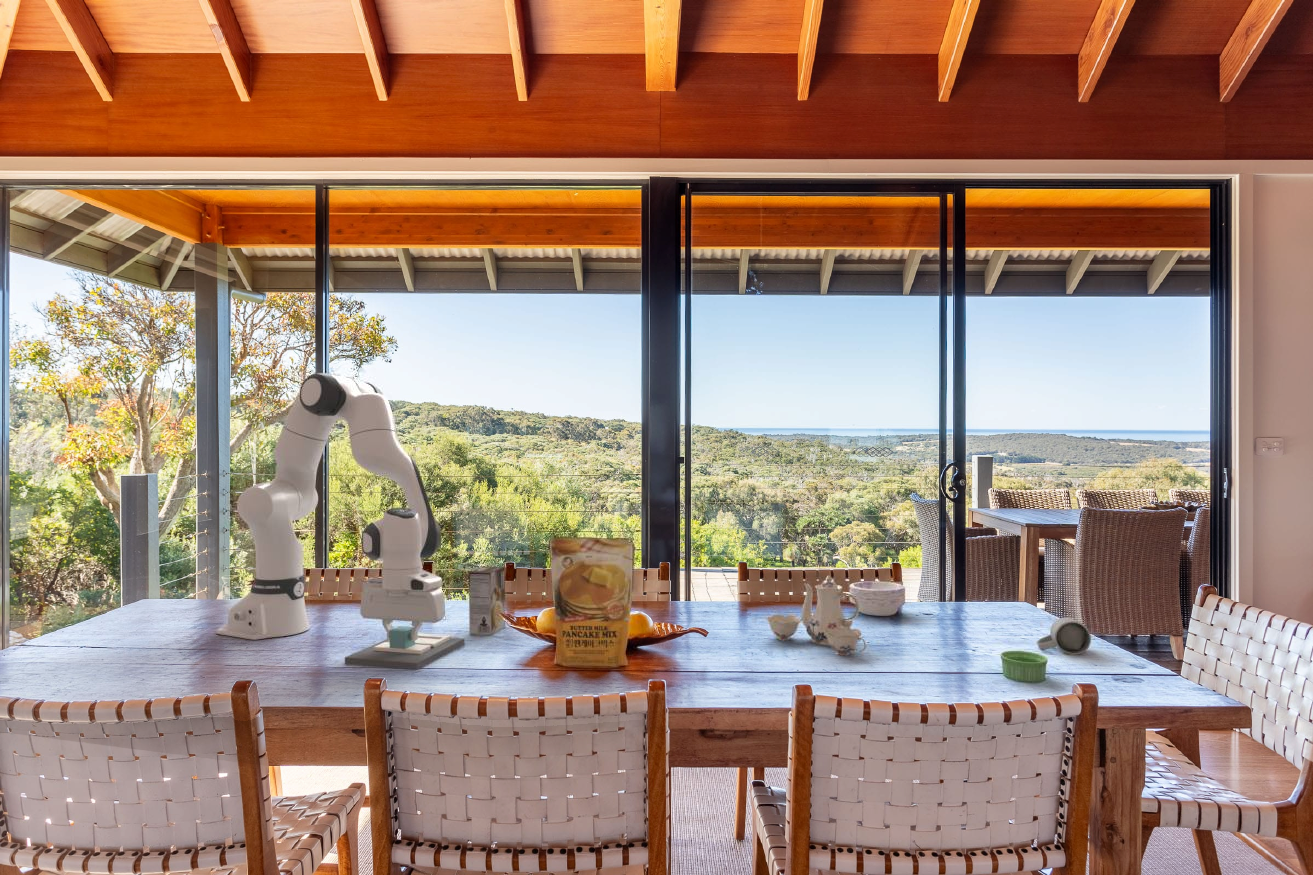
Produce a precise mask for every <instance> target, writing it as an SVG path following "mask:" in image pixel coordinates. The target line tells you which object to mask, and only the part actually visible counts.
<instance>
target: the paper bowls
mask: <svg viewBox="0 0 1313 875" xmlns="http://www.w3.org/2000/svg"><path fill="white" fill-rule="evenodd" d="M905 588H906V587H905V585H903V584H901V583H895V582H889V581H858V582H852V583H850V584H849V593H850V594H852V595H854V596H855V597H856V599H857V600H858V602H859V612H860V613H861V614H863V615H868V616H875V617H889V616H893V615H895V614H896V613H897V612H898V609H899V607H901V606H902V607H903V606H904V605H905V604H906V589H905ZM849 602H850V603H851V604H854V605H856V603H855V601H854V599H853V598H852V597H850V596H849Z"/></svg>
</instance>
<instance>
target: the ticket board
mask: <svg viewBox="0 0 1313 875" xmlns="http://www.w3.org/2000/svg"><path fill="white" fill-rule="evenodd" d="M384 642H390V639H387V638H386V639H384V640H382V641H379V642H377V643H375V644H372V645H370V646H368V647H366V648H363V649H361V650H359V651H355V652H354V653H352V654H350V655H346V656H345V657H344V664H345V665H351V666H352V665H354V666H361V667H362V666H363V667H364V666H365V667H375V668H376V667H377V668H387V669H388V668H389V669H398V668H400V669H401V670H412V671H418V670H420V669H422V668H424V667H425V666H427V665H429V664H431V663H433V662H435V661H437V660H439V659H441V658H443V657H444V656H446V655H448V654H450V653H452V652H454V651H455V650H457V649H460V648H461V647H464V646H466V645H465V642H466V641H465V638H461V637H459V638H458V637H452V635H449V634H447V635H446V634H435V633H434V634H433V633H421V632H418V639H417V640H415V644H418V645H431V649H430V650H428V651H426V652H424V653H422V654H413V653H400V652H388V651H375V650H374V647H375V646H377V645H379V644H382V643H384ZM453 650H454V651H453Z"/></svg>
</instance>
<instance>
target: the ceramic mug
mask: <svg viewBox="0 0 1313 875" xmlns="http://www.w3.org/2000/svg"><path fill="white" fill-rule="evenodd" d="M1049 630H1050V632H1049V633H1050V634H1049V635H1046V636H1043V637H1041V638H1040V639H1038V640H1037V642H1036V644H1037V646H1038V648H1039V650H1050V649H1053V648H1056V647H1057V648H1058V649H1059V650H1060V651H1061V652H1062V653H1065V654H1067V655H1070V656H1077V655H1081V654H1083V653H1085V652H1086V651H1087V650H1088V649H1089V648H1090V645H1091V642H1092V636H1091V633H1090V630H1089V629H1088V627H1087V626H1086V625H1085V624H1083V623H1082V622H1079V621H1078V620H1076V619H1074V618H1071V617H1060V618H1058V619H1055V620H1054V622H1052V624H1051V626H1050V629H1049Z"/></svg>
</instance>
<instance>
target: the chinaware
mask: <svg viewBox="0 0 1313 875" xmlns="http://www.w3.org/2000/svg"><path fill="white" fill-rule="evenodd" d="M832 579H833V578H832V577H831V575H827V576H826V578H825V580H823V581H822V582H821V583H820V584H817V585H815V588H816V592H817V593H816V594H817V602H816V607H815V611H814V613H813V610H812V605H813V588H812V586H811V585H810V584H809V583H807V582H804V583H803V585H804V586H805V589H806V594H805V596H804V597H805V598H804V601H803V605H802V607H801V617H800V618H799V617H798V616H797V615H794V614H787V615H783V614H780V613H779V614H778V613H775V614H772V615H771V616H766V617H765V620H766V621H768V624H769V627H770V630H771V632H772V633H773V634H774V635H775V636H776V637H777V639H776V640H779V641H782V642H784V641H790V640H791V637H792V636H794V635H795V634H796V632H797V630H798V629H799V628H798V627H799V624H800V623H801V622H802V624H803V626H804V627H805V628H806V633H807V635H808V636H809V637H810V638H811V642H812V643H813V644H816V645H821V646H826V647H827V646H828V647H831V648H832V649H833V650H834V651H836V652H835V654H836V655H838V656H849V655H851V654H853V655H854V654H855V653H856V651H857V652H858V653H859V652H860V653H861V652H864V651H865V650H866V647H867V643H866V641H865V639H864V638H863V637H861V636H862V633H861V630H860V629H858V628H852V629H851V627H852V625H853V622H854V621H853V619H855V618H856V617H857V616H858V614H859V612H860V611H859V602H858V600H857V599H856V597H855V596H854V595H852V594H850V592H847V591H842V589H843V586H841V585H838V584H837V583H836V582H835V581H833V580H832ZM846 596H848V597H849V598H850V597H852V598H853V599H854V601H855V603H856V604H855V607H856V610H855V613H854V614H853V615H851V616H850V617H845V616H844V613H843V610H842V605H841V601H844V600H845V599H846ZM861 640H862V642H863V644H864V648H863V649H857V648H855V647H856V646H857V644H858V641H859V642H860V641H861Z"/></svg>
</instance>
